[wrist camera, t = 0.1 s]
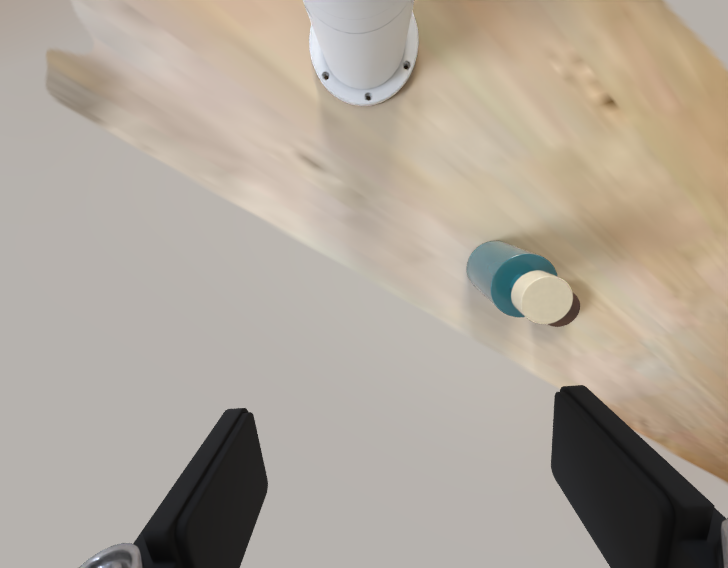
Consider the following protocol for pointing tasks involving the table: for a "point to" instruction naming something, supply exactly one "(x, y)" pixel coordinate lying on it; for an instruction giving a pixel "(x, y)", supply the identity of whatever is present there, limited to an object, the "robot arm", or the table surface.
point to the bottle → (519, 282)
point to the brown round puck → (569, 313)
